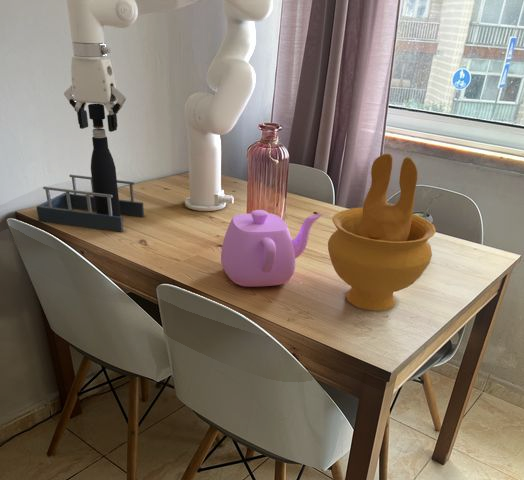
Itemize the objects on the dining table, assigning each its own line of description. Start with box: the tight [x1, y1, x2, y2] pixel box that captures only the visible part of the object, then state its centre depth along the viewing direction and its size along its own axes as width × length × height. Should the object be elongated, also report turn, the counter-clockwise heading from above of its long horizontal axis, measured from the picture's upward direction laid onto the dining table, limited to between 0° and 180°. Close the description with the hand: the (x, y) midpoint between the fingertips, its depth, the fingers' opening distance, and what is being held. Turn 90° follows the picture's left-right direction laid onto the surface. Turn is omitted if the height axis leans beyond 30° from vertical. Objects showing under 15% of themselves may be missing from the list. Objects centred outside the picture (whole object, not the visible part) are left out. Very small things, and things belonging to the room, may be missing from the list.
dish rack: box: [36, 174, 145, 233], centre depth 152 cm, size 25×14×10 cm, turn 76°
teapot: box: [220, 209, 323, 287], centre depth 121 cm, size 23×21×15 cm
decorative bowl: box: [327, 153, 437, 312], centre depth 111 cm, size 21×21×30 cm
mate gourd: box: [412, 193, 444, 242], centre depth 144 cm, size 8×8×15 cm
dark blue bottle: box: [87, 103, 121, 216], centre depth 145 cm, size 6×6×30 cm
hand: (98, 128), depth 140 cm, fingers open, 7 cm apart
